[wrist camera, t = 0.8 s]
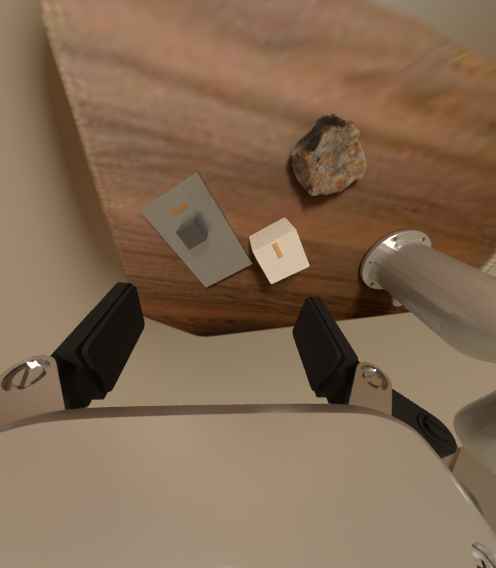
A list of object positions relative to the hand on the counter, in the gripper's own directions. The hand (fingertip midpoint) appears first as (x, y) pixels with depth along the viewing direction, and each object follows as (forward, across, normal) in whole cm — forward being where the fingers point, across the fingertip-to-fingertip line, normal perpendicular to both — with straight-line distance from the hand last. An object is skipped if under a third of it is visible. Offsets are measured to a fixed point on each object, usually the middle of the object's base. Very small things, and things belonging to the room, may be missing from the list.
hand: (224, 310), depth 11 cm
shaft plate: (+22, +4, +4) cm, 23 cm away
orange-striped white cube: (+22, -8, +4) cm, 24 cm away
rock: (+23, -13, -9) cm, 27 cm away
